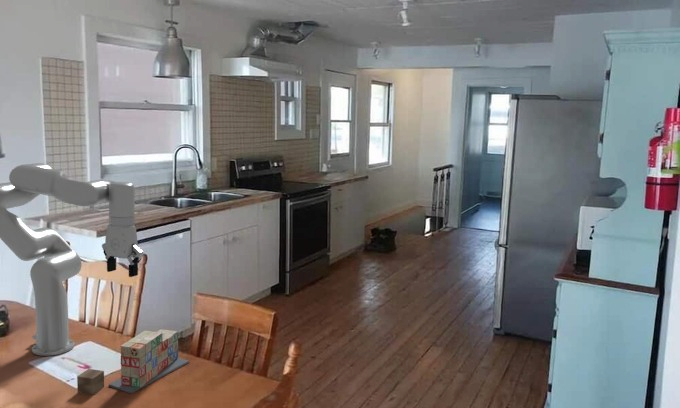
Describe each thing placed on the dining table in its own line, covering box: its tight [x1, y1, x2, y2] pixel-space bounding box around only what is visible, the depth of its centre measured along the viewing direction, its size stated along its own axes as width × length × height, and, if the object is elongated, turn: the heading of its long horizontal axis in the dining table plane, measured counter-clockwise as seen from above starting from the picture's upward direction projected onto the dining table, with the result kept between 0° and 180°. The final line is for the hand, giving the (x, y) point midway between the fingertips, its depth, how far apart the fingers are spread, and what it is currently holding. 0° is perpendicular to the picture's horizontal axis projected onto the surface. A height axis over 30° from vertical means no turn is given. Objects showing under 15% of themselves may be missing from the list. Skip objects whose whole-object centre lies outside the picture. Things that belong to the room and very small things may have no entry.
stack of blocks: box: [120, 328, 179, 389], centre depth 168 cm, size 21×6×12 cm, turn 166°
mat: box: [108, 357, 190, 394], centre depth 168 cm, size 9×24×1 cm, turn 154°
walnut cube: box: [76, 368, 105, 396], centre depth 157 cm, size 5×5×5 cm
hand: (122, 273), depth 176 cm, fingers open, 9 cm apart
